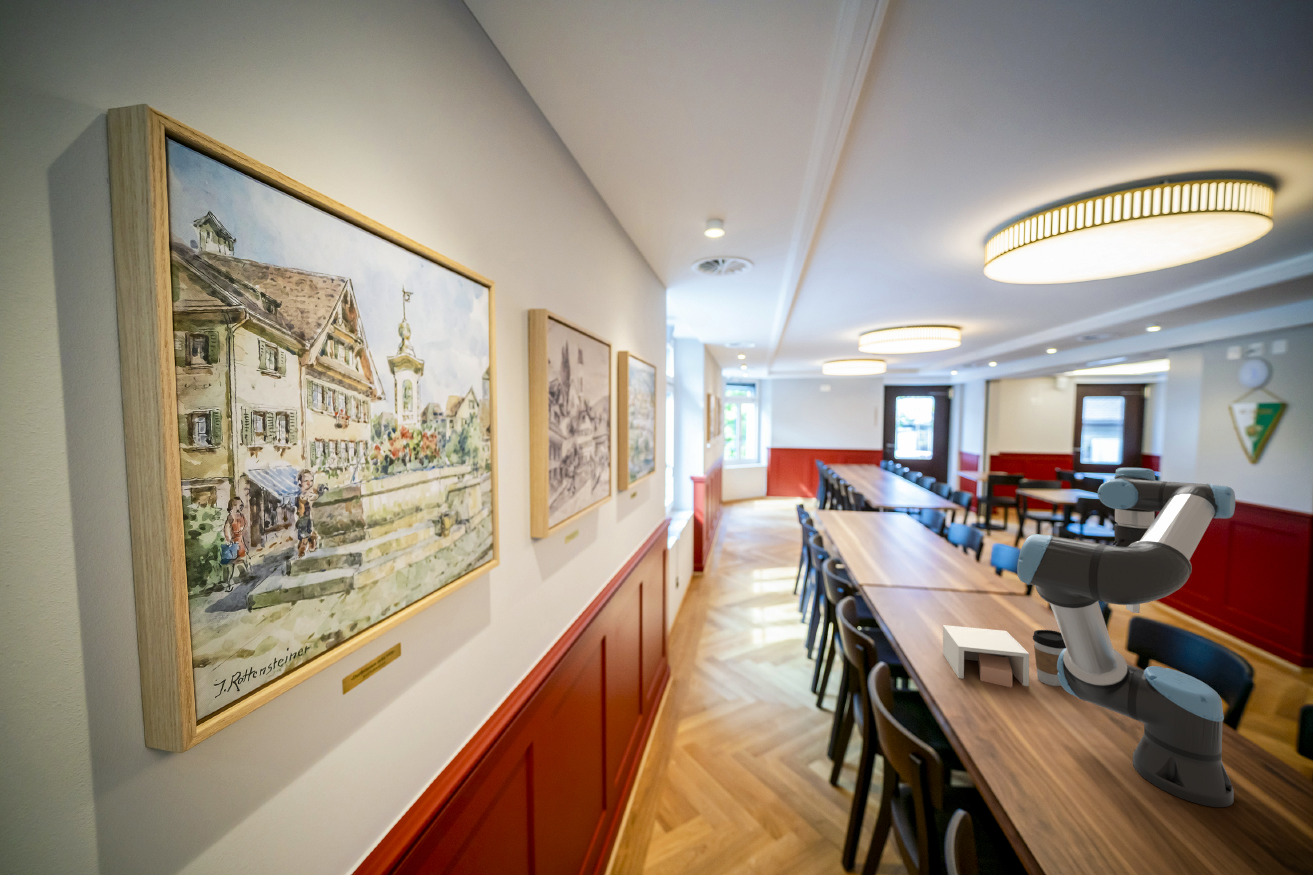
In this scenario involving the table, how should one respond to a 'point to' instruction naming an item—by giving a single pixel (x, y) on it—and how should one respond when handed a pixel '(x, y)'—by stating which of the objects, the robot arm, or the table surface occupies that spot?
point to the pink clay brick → (994, 669)
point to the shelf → (984, 649)
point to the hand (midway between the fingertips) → (1132, 610)
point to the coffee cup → (1048, 655)
